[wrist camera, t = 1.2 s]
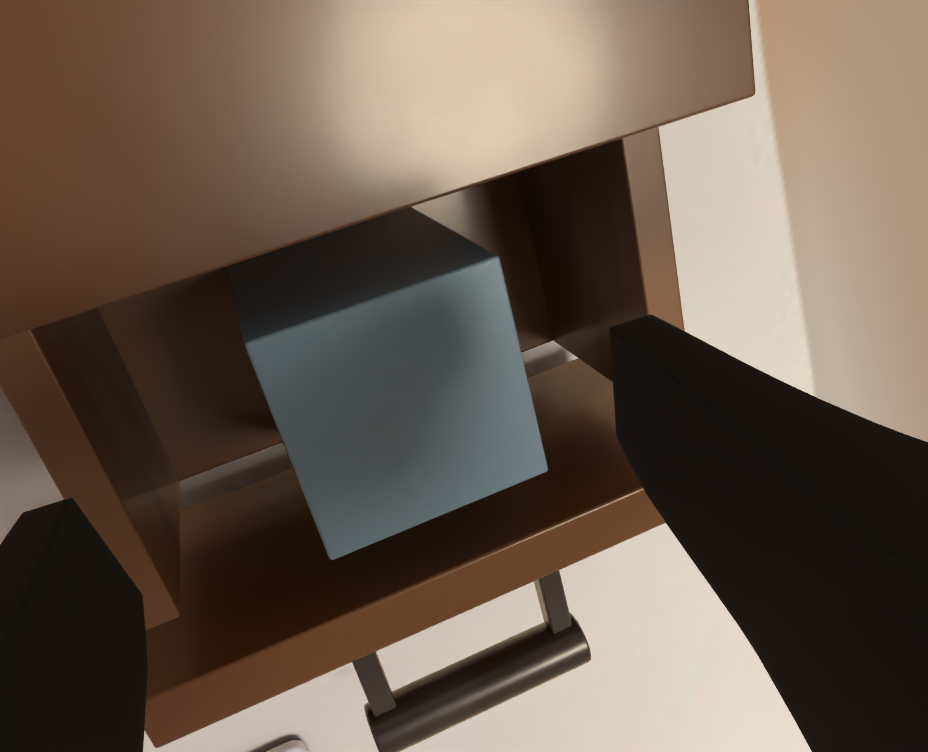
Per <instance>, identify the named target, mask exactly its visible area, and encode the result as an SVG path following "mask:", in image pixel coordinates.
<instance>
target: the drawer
mask: <svg viewBox="0 0 928 752" xmlns="http://www.w3.org/2000/svg"><path fill="white" fill-rule="evenodd" d="M412 208H414V209H416V210H418V211H419V212H421V213H423V214H425V215H426V216H428V217H430V218H432V219H433V220H435V221H437V222H439V223H441V224H442V225H444V226H446V227H448V228H449V229H451V230H453V231H455V232H457V233H458V234H460V235H462V236H464V237H465V238H467V239H469V240H471V241H472V242H474V243H476V244H478V245H480V246H481V247H483V248H485V249H487V250H488V251H490V252H492V253H494V254H496V255H497V256H498V257H499V258H500V262H501V266H502V271H503V275H504V280H505V284H506V288H507V293H508V297H509V301H510V306H511V310H512V314H513V319H514V323H515V327H516V332H517V336H518V340H519V345H520V349H521V352H524V351H526V350H529V349H532V348H534V347H537V346H540V345H542V344H545V343H548V342H550V341H553V340H554V341H555V342H556V343H558V344H559V345H561V346H562V347H564V348H565V349H566V350H568V351H569V352H571V353H572V354H573V355H575V356H576V357H578V359H575V360H573V361H570V362H567V363H565V364H562V365H560V366H557V367H554V368H552V369H549V370H547V371H544V372H541V373H539V374H536V375H534V376H531V377H528V378H527V379H528V384H529V388H530V393H531V397H532V401H533V406H534V410H535V414H536V419H537V423H538V427H539V432H540V436H541V440H542V445H543V449H544V453H545V458H546V462H547V466H548V471H547V472H545V473H542V474H540V475H537V476H535V477H533V478H530V479H528V480H525V481H523V482H520V483H518V484H516V485H513V486H511V487H508V488H506V489H504V490H501V491H499V492H496V493H494V494H491V495H489V496H487V497H484V498H482V499H479V500H477V501H475V502H472V503H470V504H467V505H465V506H462V507H460V508H458V509H455V510H453V511H450V512H448V513H445V514H443V515H441V516H438V517H436V518H433V519H431V520H429V521H426V522H424V523H421V524H419V525H416V526H414V527H412V528H409V529H407V530H404V531H402V532H400V533H397V534H395V535H392V536H390V537H387V538H385V539H383V540H380V541H378V542H375V543H373V544H370V545H368V546H366V547H363V548H361V549H358V550H356V551H354V552H351V553H349V554H346V555H344V556H341V557H339V558H337V559H334V560H331V559H330V558H329V557H328V554H327V552H326V549H325V547H324V544H323V542H322V539H321V537H320V534H319V532H318V529H317V527H316V524H315V522H314V519H313V517H312V514H311V512H310V509H309V507H308V504H307V502H306V499H305V497H304V494H303V491H302V489H301V486H300V484H299V481H298V479H297V476H296V474H295V471H294V469H293V468H291V469H289V470H286V471H283V472H281V473H278V474H276V475H273V476H270V477H268V478H265V479H263V480H260V481H257V482H255V483H252V484H250V485H247V486H244V487H242V488H239V489H237V490H234V491H231V492H229V493H226V494H224V495H221V496H218V497H216V498H213V499H211V500H208V501H205V502H203V503H200V504H197V505H195V506H192V507H190V508H187V509H184V510H182V511H180V480H183V479H186V478H188V477H191V476H194V475H196V474H199V473H202V472H204V471H207V470H210V469H212V468H215V467H217V466H220V465H223V464H225V463H228V462H231V461H233V460H236V459H239V458H241V457H244V456H247V455H249V454H252V453H255V452H257V451H260V450H263V449H265V448H268V447H271V446H273V445H276V444H279V443H281V442H283V441H282V439H281V436H280V434H279V431H278V429H277V426H276V424H275V421H274V419H273V416H272V414H271V411H270V409H269V406H268V403H267V401H266V398H265V396H264V393H263V391H262V388H261V386H260V383H259V381H258V378H257V376H256V373H255V371H254V368H253V366H252V363H251V361H250V358H249V356H248V353H247V351H246V348H245V345H244V341H243V337H242V333H241V329H240V325H239V321H238V317H237V313H236V309H235V305H234V301H233V297H232V293H231V289H230V285H229V280H228V276H227V272H226V267H223V268H220V269H217V270H214V271H211V272H208V273H205V274H202V275H198V276H195V277H192V278H189V279H186V280H183V281H180V282H177V283H174V284H171V285H167V286H164V287H161V288H158V289H155V290H152V291H149V292H146V293H143V294H140V295H137V296H133V297H130V298H127V299H124V300H121V301H118V302H115V303H112V304H109V305H106V306H103V307H99V308H96V309H93V310H90V311H87V312H84V313H81V314H78V315H75V316H72V317H69V318H65V319H62V320H59V321H56V322H53V323H50V324H47V325H44V326H41V327H38V328H35V329H31V330H28V331H25V332H22V333H19V334H16V335H13V336H10V337H7V338H4V339H0V386H1V388H2V390H3V391H4V393H5V395H6V397H7V399H8V400H9V402H10V404H11V406H12V408H13V409H14V411H15V413H16V415H17V416H18V418H19V420H20V422H21V424H22V425H23V427H24V429H25V431H26V433H27V434H28V436H29V438H30V440H31V441H32V443H33V445H34V447H35V449H36V450H37V452H38V454H39V456H40V458H41V459H42V461H43V463H44V465H45V466H46V468H47V470H48V472H49V474H50V475H51V477H52V479H53V481H54V482H55V484H56V486H57V488H58V490H59V491H60V493H61V495H62V497H63V499H64V500H65V499H68V498H71V497H72V498H73V499H74V501H75V502H76V503H77V505H78V506H79V507H80V509H81V510H82V512H83V513H84V514H85V516H86V517H87V519H88V520H89V521H90V523H91V524H92V525H93V527H94V528H95V530H96V531H97V532H98V534H99V535H100V537H101V538H102V539H103V541H104V542H105V543H106V545H107V546H108V548H109V549H110V550H111V552H112V553H113V555H114V556H115V557H116V559H117V560H118V561H119V563H120V564H121V566H122V567H123V568H124V570H125V571H126V573H127V574H128V575H129V577H130V578H131V579H132V581H133V582H134V584H135V585H136V586H137V588H138V589H139V591H140V592H141V593H142V595H143V606H144V618H145V629H146V644H147V662H148V675H147V694H146V710H145V726H144V730H145V732H146V733H147V735H148V737H149V738H150V740H151V742H152V743H153V745H154V746H155V747H156V748H158V747H161V746H163V745H165V744H168V743H170V742H172V741H174V740H177V739H179V738H181V737H183V736H186V735H188V734H190V733H192V732H195V731H197V730H199V729H201V728H204V727H206V726H208V725H211V724H213V723H215V722H217V721H220V720H222V719H224V718H226V717H229V716H231V715H233V714H235V713H238V712H240V711H242V710H244V709H247V708H249V707H251V706H253V705H256V704H258V703H260V702H262V701H265V700H267V699H269V698H271V697H274V696H276V695H278V694H280V693H283V692H285V691H287V690H289V689H292V688H294V687H296V686H298V685H301V684H303V683H305V682H307V681H310V680H312V679H314V678H316V677H319V676H321V675H323V674H326V673H328V672H330V671H332V670H335V669H337V668H339V667H341V666H344V665H346V664H348V663H350V662H352V663H353V665H354V668H355V670H356V673H357V675H358V677H359V680H360V682H361V685H362V687H363V690H364V692H365V694H366V697H367V699H368V703H366V704H365V705H364V710H365V714H366V717H367V720H368V723H369V726H370V729H371V732H372V735H373V738H374V740H375V743H376V746H377V748H378V750H379V752H400V751H402V750H404V749H406V748H408V747H410V746H412V745H414V744H417V743H419V742H421V741H423V740H425V739H427V738H429V737H431V736H433V735H436V734H438V733H440V732H442V731H444V730H446V729H448V728H450V727H452V726H455V725H457V724H459V723H461V722H463V721H465V720H467V719H469V718H471V717H473V716H476V715H478V714H480V713H482V712H484V711H486V710H488V709H490V708H492V707H495V706H497V705H499V704H501V703H503V702H505V701H507V700H509V699H511V698H514V697H516V696H518V695H520V694H522V693H524V692H526V691H528V690H530V689H533V688H535V687H537V686H539V685H541V684H543V683H545V682H547V681H549V680H551V679H554V678H556V677H558V676H560V675H562V674H564V673H566V672H568V671H570V670H573V669H575V668H577V667H579V666H581V665H583V664H585V663H587V662H589V661H590V660H591V653H590V648H589V645H588V642H587V640H586V637H585V635H584V633H583V631H582V629H581V627H580V625H579V623H578V622H577V620H576V619H575V618H574V616H573V615H572V614H571V613H569V610H568V606H567V601H566V597H565V593H564V589H563V585H562V580H561V576H560V572H559V570H560V569H562V568H565V567H567V566H569V565H571V564H574V563H576V562H578V561H580V560H583V559H585V558H587V557H589V556H592V555H594V554H596V553H598V552H601V551H603V550H605V549H607V548H610V547H612V546H614V545H616V544H619V543H621V542H623V541H625V540H628V539H630V538H632V537H634V536H637V535H639V534H641V533H643V532H646V531H648V530H650V529H652V528H655V527H657V526H659V525H661V524H664V523H666V522H665V521H664V519H663V518H662V516H661V515H660V514H659V512H658V511H657V509H656V508H655V506H654V505H653V503H652V502H651V500H650V499H649V498H648V496H647V494H646V492H645V490H644V489H643V487H642V485H641V483H640V481H639V479H638V478H637V476H636V474H635V472H634V470H633V468H632V466H631V464H630V463H629V461H628V459H627V457H626V455H625V453H624V451H623V449H622V447H621V445H620V443H619V441H618V439H617V437H616V425H615V409H614V394H613V378H612V363H611V347H610V332H609V327H612V326H616V325H619V324H622V323H625V322H628V321H631V320H635V319H638V318H641V317H644V316H647V315H650V314H651V315H654V316H656V317H658V318H660V319H662V320H664V321H666V322H668V323H670V324H671V325H673V326H675V327H677V328H679V329H681V330H683V331H684V323H683V316H682V308H681V300H680V292H679V284H678V277H677V269H676V261H675V253H674V245H673V238H672V230H671V222H670V214H669V207H668V199H667V191H666V183H665V175H664V168H663V160H662V152H661V144H660V137H659V129H658V127H656V128H653V129H650V130H647V131H644V132H641V133H638V134H634V135H631V136H628V137H625V138H622V139H619V140H616V141H613V142H610V143H607V144H604V145H600V146H597V147H594V148H591V149H588V150H585V151H582V152H579V153H576V154H573V155H570V156H566V157H563V158H560V159H557V160H554V161H551V162H548V163H545V164H542V165H539V166H535V167H532V168H529V169H526V170H523V171H520V172H517V173H514V174H511V175H508V176H505V177H501V178H498V179H495V180H492V181H489V182H486V183H483V184H480V185H477V186H474V187H471V188H467V189H464V190H461V191H458V192H455V193H452V194H449V195H446V196H443V197H440V198H437V199H433V200H430V201H427V202H424V203H421V204H418V205H415V206H412ZM533 581H534V583H535V587H536V591H537V595H538V599H539V603H540V607H541V610H542V614H543V618H544V622H543V623H541V624H539V625H537V626H535V627H532V628H530V629H528V630H526V631H524V632H522V633H519V634H517V635H515V636H513V637H511V638H508V639H506V640H504V641H502V642H500V643H497V644H495V645H493V646H491V647H489V648H487V649H484V650H482V651H480V652H478V653H476V654H473V655H471V656H469V657H467V658H465V659H462V660H460V661H458V662H456V663H454V664H451V665H449V666H447V667H445V668H443V669H441V670H438V671H436V672H434V673H432V674H430V675H427V676H425V677H423V678H421V679H419V680H416V681H414V682H412V683H410V684H408V685H406V686H403V687H401V688H399V689H397V690H395V691H391V688H390V686H389V683H388V681H387V678H386V676H385V673H384V670H383V668H382V665H381V663H380V660H379V658H378V655H377V653H376V651H377V650H380V649H382V648H384V647H386V646H389V645H391V644H393V643H395V642H398V641H400V640H402V639H404V638H407V637H409V636H411V635H413V634H416V633H418V632H420V631H422V630H425V629H427V628H429V627H431V626H434V625H436V624H438V623H441V622H443V621H445V620H447V619H450V618H452V617H454V616H456V615H459V614H461V613H463V612H465V611H468V610H470V609H472V608H474V607H477V606H479V605H481V604H483V603H486V602H488V601H490V600H492V599H495V598H497V597H499V596H501V595H504V594H506V593H508V592H510V591H513V590H515V589H517V588H519V587H522V586H524V585H526V584H528V583H531V582H533Z"/></svg>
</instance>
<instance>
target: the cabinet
mask: <svg viewBox="0 0 928 752" xmlns="http://www.w3.org/2000/svg"><path fill="white" fill-rule="evenodd" d="M753 95H755V82H754V69H753V55H752V42H751V29H750V15H749V2H748V0H0V339H4V338H7V337H10V336H13V335H16V334H19V333H22V332H25V331H28V330H31V329H35V328H38V327H41V326H44V325H47V324H50V323H53V322H56V321H59V320H62V319H65V318H69V317H72V316H75V315H78V314H81V313H84V312H87V311H90V310H93V309H96V308H99V307H103V306H106V305H109V304H112V303H115V302H118V301H121V300H124V299H127V298H130V297H133V296H137V295H140V294H143V293H146V292H149V291H152V290H155V289H158V288H161V287H164V286H167V285H171V284H174V283H177V282H180V281H183V280H186V279H189V278H192V277H195V276H198V275H202V274H205V273H208V272H211V271H214V270H217V269H220V268H223V267H226V266H229V265H232V264H236V263H239V262H242V261H245V260H248V259H251V258H254V257H257V256H260V255H263V254H266V253H270V252H273V251H276V250H279V249H282V248H285V247H288V246H291V245H294V244H297V243H300V242H304V241H307V240H310V239H313V238H316V237H319V236H322V235H325V234H328V233H331V232H334V231H338V230H341V229H344V228H347V227H350V226H353V225H356V224H359V223H362V222H365V221H368V220H372V219H375V218H378V217H381V216H384V215H387V214H390V213H393V212H396V211H399V210H403V209H406V208H409V207H412V206H415V205H418V204H421V203H424V202H427V201H430V200H433V199H437V198H440V197H443V196H446V195H449V194H452V193H455V192H458V191H461V190H464V189H467V188H471V187H474V186H477V185H480V184H483V183H486V182H489V181H492V180H495V179H498V178H501V177H505V176H508V175H511V174H514V173H517V172H520V171H523V170H526V169H529V168H532V167H535V166H539V165H542V164H545V163H548V162H551V161H554V160H557V159H560V158H563V157H566V156H570V155H573V154H576V153H579V152H582V151H585V150H588V149H591V148H594V147H597V146H600V145H604V144H607V143H610V142H613V141H616V140H619V139H622V138H625V137H628V136H631V135H634V134H638V133H641V132H644V131H647V130H650V129H653V128H656V127H659V126H662V125H665V124H668V123H672V122H675V121H678V120H681V119H684V118H687V117H690V116H693V115H696V114H699V113H702V112H706V111H709V110H712V109H715V108H718V107H721V106H724V105H727V104H730V103H733V102H737V101H740V100H743V99H746V98H749V97H752V96H753Z"/></svg>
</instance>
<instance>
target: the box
mask: <svg viewBox="0 0 928 752" xmlns="http://www.w3.org/2000/svg"><path fill="white" fill-rule="evenodd" d="M226 272H227V276H228V280H229V285H230V289H231V293H232V297H233V301H234V305H235V309H236V313H237V317H238V321H239V325H240V329H241V333H242V337H243V341H244V345H245V348H246V351H247V353H248V356H249V358H250V361H251V363H252V366H253V368H254V371H255V373H256V376H257V378H258V381H259V383H260V386H261V388H262V391H263V393H264V396H265V398H266V401H267V403H268V406H269V409H270V411H271V414H272V416H273V419H274V421H275V424H276V426H277V429H278V431H279V434H280V436H281V439H282V441H283V444H284V446H285V449H286V451H287V454H288V456H289V459H290V461H291V464H292V466H293V469H294V471H295V474H296V476H297V479H298V481H299V484H300V486H301V489H302V491H303V494H304V497H305V499H306V502H307V504H308V507H309V509H310V512H311V514H312V517H313V519H314V522H315V524H316V527H317V529H318V532H319V534H320V537H321V539H322V542H323V544H324V547H325V549H326V552H327V554H328V557H329V558H330V559H331V560H334V559H337V558H339V557H341V556H344V555H346V554H349V553H351V552H354V551H356V550H358V549H361V548H363V547H366V546H368V545H370V544H373V543H375V542H378V541H380V540H383V539H385V538H387V537H390V536H392V535H395V534H397V533H400V532H402V531H404V530H407V529H409V528H412V527H414V526H416V525H419V524H421V523H424V522H426V521H429V520H431V519H433V518H436V517H438V516H441V515H443V514H445V513H448V512H450V511H453V510H455V509H458V508H460V507H462V506H465V505H467V504H470V503H472V502H475V501H477V500H479V499H482V498H484V497H487V496H489V495H491V494H494V493H496V492H499V491H501V490H504V489H506V488H508V487H511V486H513V485H516V484H518V483H520V482H523V481H525V480H528V479H530V478H533V477H535V476H537V475H540V474H542V473H545V472H547V471H548V466H547V462H546V458H545V453H544V449H543V445H542V440H541V436H540V432H539V427H538V423H537V419H536V414H535V410H534V406H533V401H532V397H531V393H530V388H529V384H528V379H527V375H526V371H525V366H524V362H523V358H522V353H521V349H520V345H519V340H518V336H517V332H516V327H515V323H514V319H513V314H512V310H511V306H510V301H509V297H508V293H507V288H506V284H505V280H504V275H503V271H502V266H501V262H500V258H499V257H498V256H497V255H496V254H494V253H492V252H490V251H488V250H487V249H485V248H483V247H481V246H480V245H478V244H476V243H474V242H472V241H471V240H469V239H467V238H465V237H464V236H462V235H460V234H458V233H457V232H455V231H453V230H451V229H449V228H448V227H446V226H444V225H442V224H441V223H439V222H437V221H435V220H433V219H432V218H430V217H428V216H426V215H425V214H423V213H421V212H419V211H418V210H416V209H414V208H412V207H409V208H406V209H403V210H399V211H396V212H393V213H390V214H387V215H384V216H381V217H378V218H375V219H372V220H368V221H365V222H362V223H359V224H356V225H353V226H350V227H347V228H344V229H341V230H338V231H334V232H331V233H328V234H325V235H322V236H319V237H316V238H313V239H310V240H307V241H304V242H300V243H297V244H294V245H291V246H288V247H285V248H282V249H279V250H276V251H273V252H270V253H266V254H263V255H260V256H257V257H254V258H251V259H248V260H245V261H242V262H239V263H236V264H232V265H229V266H226Z"/></svg>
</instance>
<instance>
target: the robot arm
mask: <svg viewBox="0 0 928 752" xmlns="http://www.w3.org/2000/svg"><path fill="white" fill-rule="evenodd" d="M609 332H610V347H611V363H612V378H613V394H614V409H615V425H616V437H617V439H618V441H619V443H620V445H621V447H622V449H623V451H624V453H625V455H626V457H627V459H628V461H629V463H630V464H631V466H632V468H633V470H634V472H635V474H636V476H637V478H638V479H639V481H640V483H641V485H642V487H643V489H644V490H645V492H646V494H647V496H648V498H649V499H650V500H651V502H652V503H653V505H654V506H655V508H656V509H657V511H658V512H659V514H660V515H661V516H662V518H663V519H664V521H665V522H666V524H667V525H668V526H669V528H670V529H671V531H672V532H673V534H674V535H675V536H676V538H677V539H678V541H679V542H680V544H681V545H682V546H683V548H684V549H685V551H686V552H687V553H688V555H689V556H690V558H691V559H692V560H693V562H694V563H695V565H696V566H697V567H698V569H699V570H700V572H701V573H702V574H703V576H704V577H705V579H706V580H707V582H708V583H709V584H710V586H711V587H712V589H713V590H714V591H715V593H716V594H717V596H718V597H719V598H720V600H721V601H722V603H723V604H724V605H725V607H726V608H727V610H728V611H729V613H730V614H731V615H732V617H733V618H734V620H735V621H736V622H737V624H738V625H739V627H740V628H741V630H742V631H743V633H744V635H745V636H746V638H747V639H748V641H749V642H750V644H751V645H752V647H753V648H754V650H755V651H756V653H757V655H758V656H759V658H760V660H761V662H762V663H763V665H764V667H765V669H766V670H767V672H768V674H769V676H770V677H771V679H772V681H773V683H774V684H775V686H776V688H777V690H778V691H779V693H780V695H781V697H782V698H783V700H784V702H785V704H786V705H787V707H788V709H789V711H790V712H791V714H792V716H793V718H794V719H795V721H796V723H797V725H798V727H799V729H800V730H801V732H802V734H803V736H804V738H805V740H806V741H807V743H808V745H809V747H810V749H811V751H812V752H928V442H925V441H922V440H920V439H917V438H914V437H911V436H908V435H905V434H903V433H900V432H897V431H895V430H892V429H890V428H887V427H885V426H882V425H879V424H876V423H874V422H872V421H869V420H867V419H865V418H862V417H860V416H858V415H855V414H853V413H851V412H848V411H846V410H844V409H841V408H839V407H837V406H834V405H832V404H830V403H827V402H825V401H823V400H820V399H818V398H816V397H814V396H812V395H810V394H808V393H805V392H803V391H801V390H799V389H797V388H795V387H792V386H790V385H788V384H786V383H784V382H782V381H780V380H778V379H776V378H774V377H772V376H770V375H768V374H766V373H764V372H762V371H760V370H758V369H756V368H754V367H752V366H750V365H748V364H746V363H744V362H742V361H740V360H738V359H736V358H734V357H732V356H730V355H728V354H726V353H725V352H723V351H721V350H719V349H717V348H715V347H713V346H711V345H709V344H707V343H705V342H704V341H702V340H700V339H698V338H696V337H694V336H692V335H690V334H689V333H687V332H685V331H683V330H681V329H679V328H677V327H675V326H673V325H671V324H670V323H668V322H666V321H664V320H662V319H660V318H658V317H656V316H654V315H651V314H650V315H647V316H644V317H641V318H638V319H635V320H631V321H628V322H625V323H622V324H619V325H616V326H612V327H609ZM147 675H148V662H147V644H146V629H145V618H144V606H143V595H142V593H141V592H140V591H139V589H138V588H137V586H136V585H135V584H134V582H133V581H132V579H131V578H130V577H129V575H128V574H127V573H126V571H125V570H124V568H123V567H122V566H121V564H120V563H119V561H118V560H117V559H116V557H115V556H114V555H113V553H112V552H111V550H110V549H109V548H108V546H107V545H106V543H105V542H104V541H103V539H102V538H101V537H100V535H99V534H98V532H97V531H96V530H95V528H94V527H93V525H92V524H91V523H90V521H89V520H88V519H87V517H86V516H85V514H84V513H83V512H82V510H81V509H80V507H79V506H78V505H77V503H76V502H75V501H74V499H73V498H72V497H71V498H68V499H65V500H62V501H59V502H56V503H52V504H49V505H46V506H43V507H40V508H37V509H33V510H30V511H27V512H24V513H22V515H21V516H20V517H19V519H18V520H17V522H16V523H15V524H14V526H13V527H12V529H11V530H10V531H9V533H8V534H7V536H6V537H5V539H4V540H3V542H2V543H1V545H0V752H143V741H144V726H145V710H146V694H147ZM266 752H310V751H309V749H308V747H307V745H306V744H305V743H304V742H303V741H300V740H291V741H288V742H286V743H284V744H281V745H279V746H277V747H275V748H273V749H270V750H268V751H266Z"/></svg>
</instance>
